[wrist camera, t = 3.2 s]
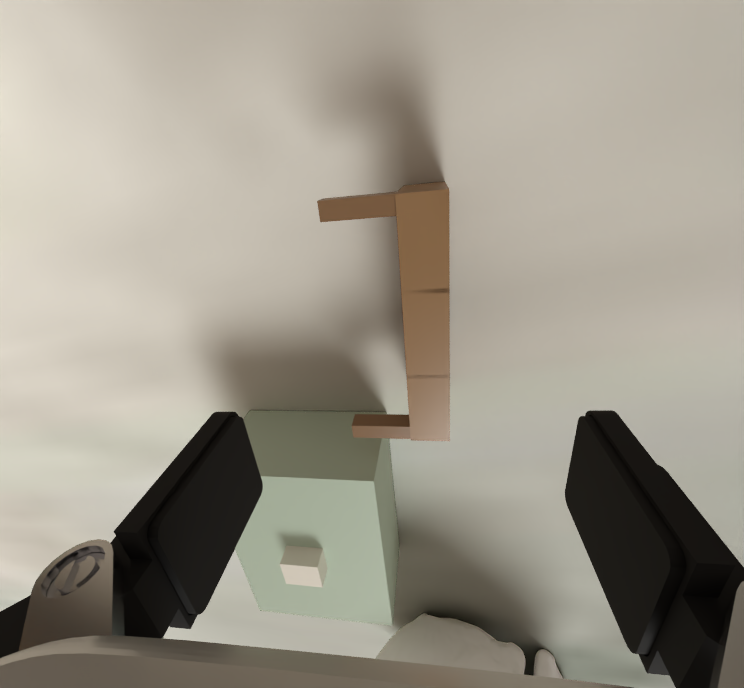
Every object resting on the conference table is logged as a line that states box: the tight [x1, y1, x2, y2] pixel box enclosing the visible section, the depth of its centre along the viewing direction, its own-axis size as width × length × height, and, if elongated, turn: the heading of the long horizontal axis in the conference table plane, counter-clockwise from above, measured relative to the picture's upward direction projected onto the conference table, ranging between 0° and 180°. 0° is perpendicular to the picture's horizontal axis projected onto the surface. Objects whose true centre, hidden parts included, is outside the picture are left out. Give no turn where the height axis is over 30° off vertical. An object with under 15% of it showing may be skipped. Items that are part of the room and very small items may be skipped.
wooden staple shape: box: [317, 181, 450, 441], centre depth 19 cm, size 12×5×5 cm, turn 5°
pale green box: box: [235, 410, 399, 626], centre depth 25 cm, size 14×10×7 cm
